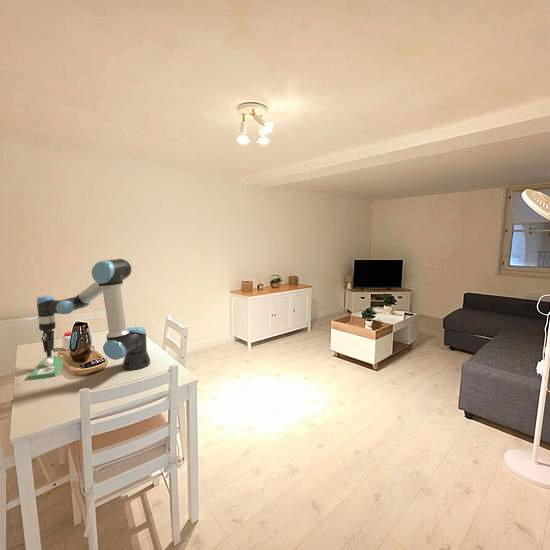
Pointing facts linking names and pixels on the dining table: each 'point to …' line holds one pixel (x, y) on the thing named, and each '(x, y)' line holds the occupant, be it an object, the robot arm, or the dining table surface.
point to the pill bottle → (66, 340)
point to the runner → (47, 369)
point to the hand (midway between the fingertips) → (50, 361)
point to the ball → (48, 362)
